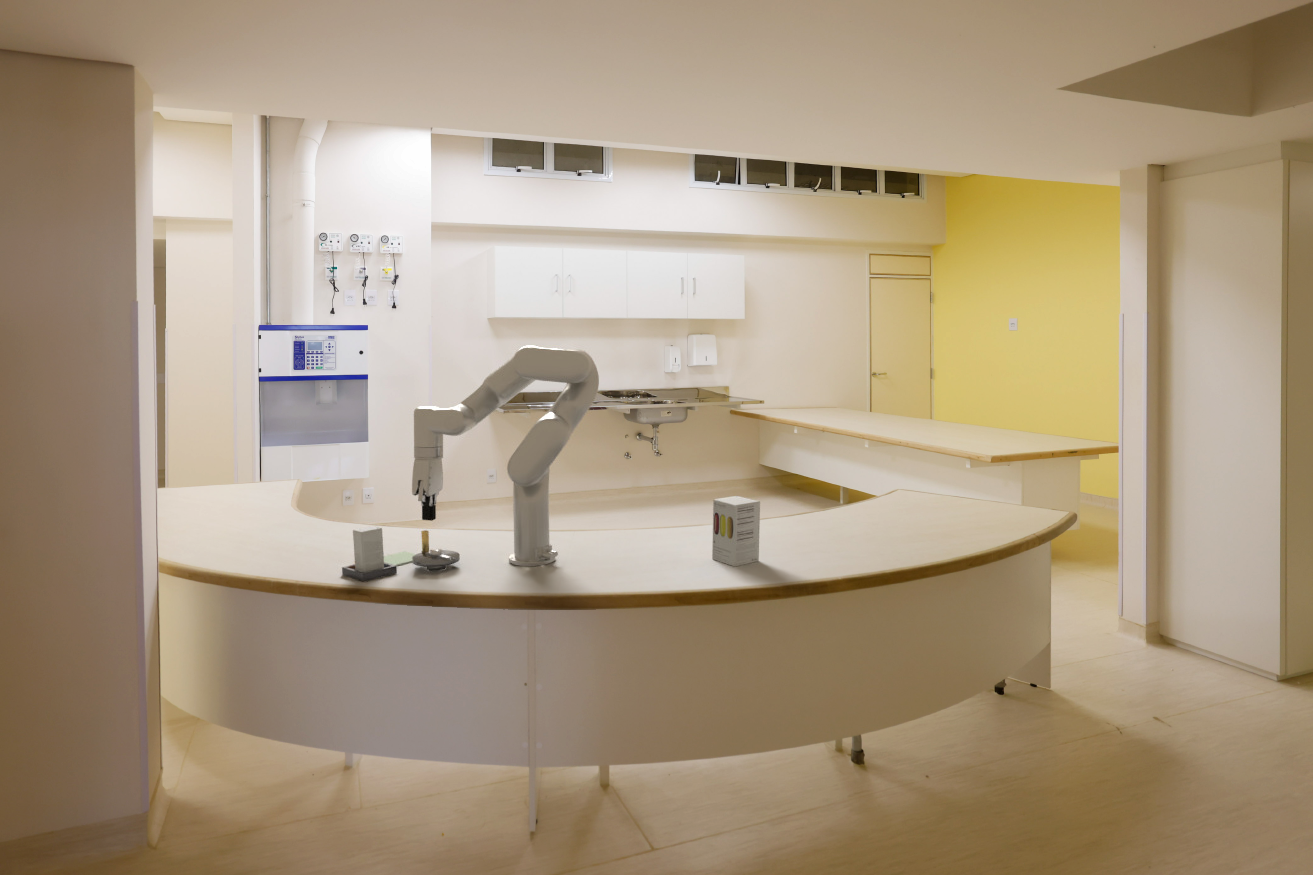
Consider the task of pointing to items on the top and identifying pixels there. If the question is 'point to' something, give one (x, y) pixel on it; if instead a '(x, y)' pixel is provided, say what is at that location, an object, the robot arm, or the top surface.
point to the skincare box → (368, 549)
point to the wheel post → (436, 568)
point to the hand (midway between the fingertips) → (428, 519)
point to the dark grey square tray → (370, 575)
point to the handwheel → (434, 555)
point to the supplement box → (736, 530)
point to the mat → (399, 558)
